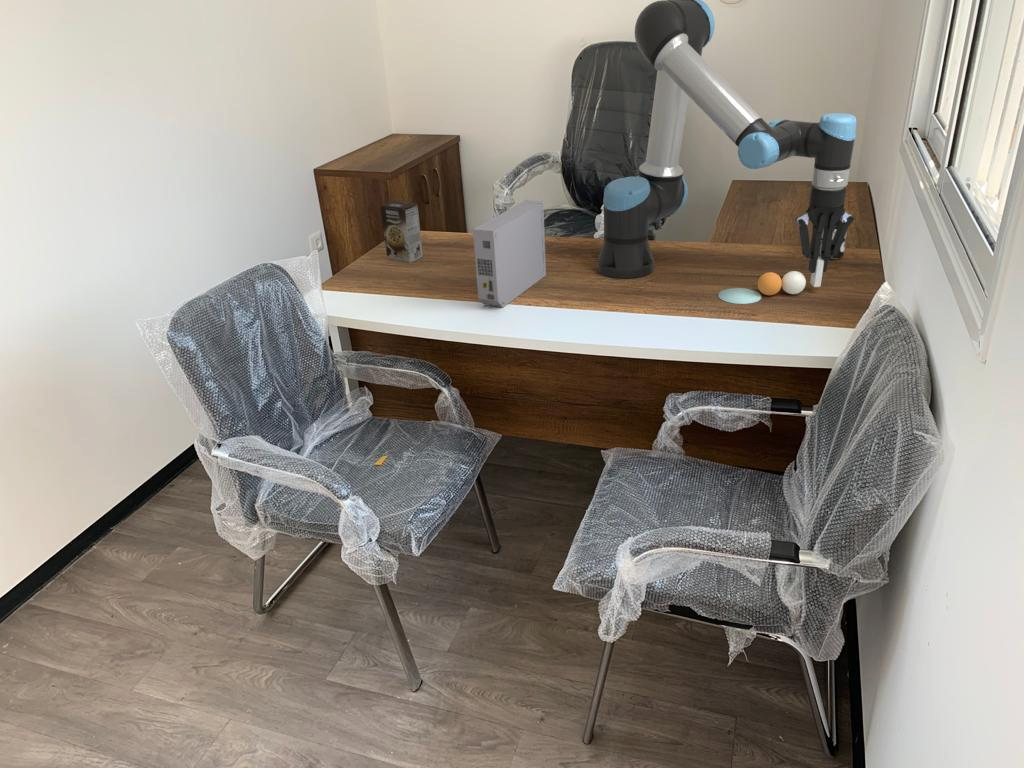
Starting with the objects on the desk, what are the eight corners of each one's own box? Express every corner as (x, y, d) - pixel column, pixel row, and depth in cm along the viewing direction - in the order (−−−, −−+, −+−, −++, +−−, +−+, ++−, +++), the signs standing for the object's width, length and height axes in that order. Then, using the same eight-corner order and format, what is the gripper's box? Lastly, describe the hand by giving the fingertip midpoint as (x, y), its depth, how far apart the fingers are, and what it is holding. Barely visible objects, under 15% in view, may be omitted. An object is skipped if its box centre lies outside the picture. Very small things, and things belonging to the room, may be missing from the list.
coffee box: (386, 259, 224) (378, 205, 216) (400, 253, 229) (393, 199, 221) (410, 263, 219) (403, 208, 212) (424, 256, 224) (417, 202, 217)
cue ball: (814, 285, 179) (796, 302, 181) (805, 276, 184) (787, 293, 186) (799, 271, 177) (781, 288, 179) (790, 263, 182) (773, 280, 184)
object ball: (760, 299, 181) (762, 277, 178) (753, 291, 186) (755, 269, 183) (783, 298, 181) (786, 276, 178) (776, 289, 186) (778, 268, 183)
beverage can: (839, 252, 207) (845, 209, 201) (846, 260, 201) (853, 215, 195) (814, 253, 207) (819, 209, 202) (820, 261, 202) (826, 216, 196)
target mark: (724, 305, 179) (724, 304, 179) (713, 290, 188) (713, 289, 188) (766, 302, 179) (766, 301, 179) (754, 287, 188) (754, 286, 187)
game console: (548, 274, 205) (545, 201, 195) (499, 311, 184) (494, 231, 174) (529, 272, 207) (525, 199, 198) (479, 308, 186) (472, 229, 177)
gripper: (806, 192, 168) (793, 292, 179) (865, 188, 168) (848, 288, 179) (794, 184, 175) (782, 281, 186) (851, 180, 174) (836, 277, 186)
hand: (815, 284), depth 182 cm, fingers closed
